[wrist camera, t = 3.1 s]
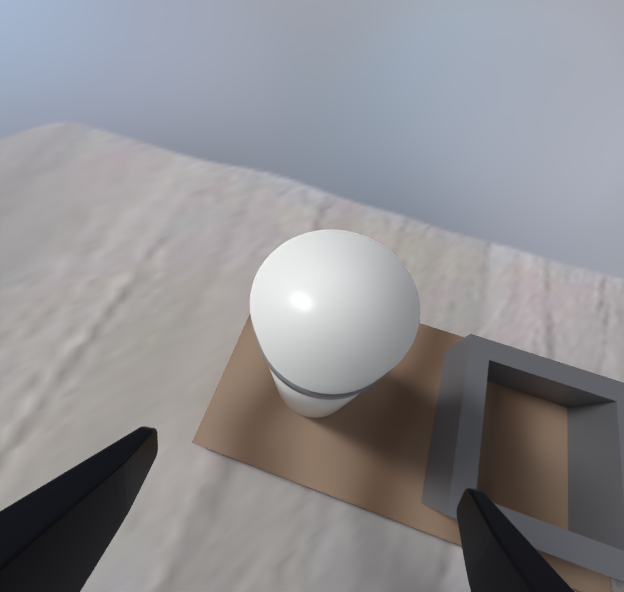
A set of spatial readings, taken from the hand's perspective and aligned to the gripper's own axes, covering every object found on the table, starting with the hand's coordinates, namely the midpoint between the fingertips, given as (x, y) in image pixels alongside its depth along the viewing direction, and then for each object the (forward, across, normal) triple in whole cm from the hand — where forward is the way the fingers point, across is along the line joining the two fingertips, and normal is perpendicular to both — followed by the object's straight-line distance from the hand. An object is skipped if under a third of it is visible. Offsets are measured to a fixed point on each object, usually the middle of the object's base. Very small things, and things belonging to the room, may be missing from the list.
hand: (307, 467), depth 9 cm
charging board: (+11, -6, +6) cm, 14 cm away
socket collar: (+9, -12, +6) cm, 17 cm away
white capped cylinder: (+11, 0, +4) cm, 12 cm away
